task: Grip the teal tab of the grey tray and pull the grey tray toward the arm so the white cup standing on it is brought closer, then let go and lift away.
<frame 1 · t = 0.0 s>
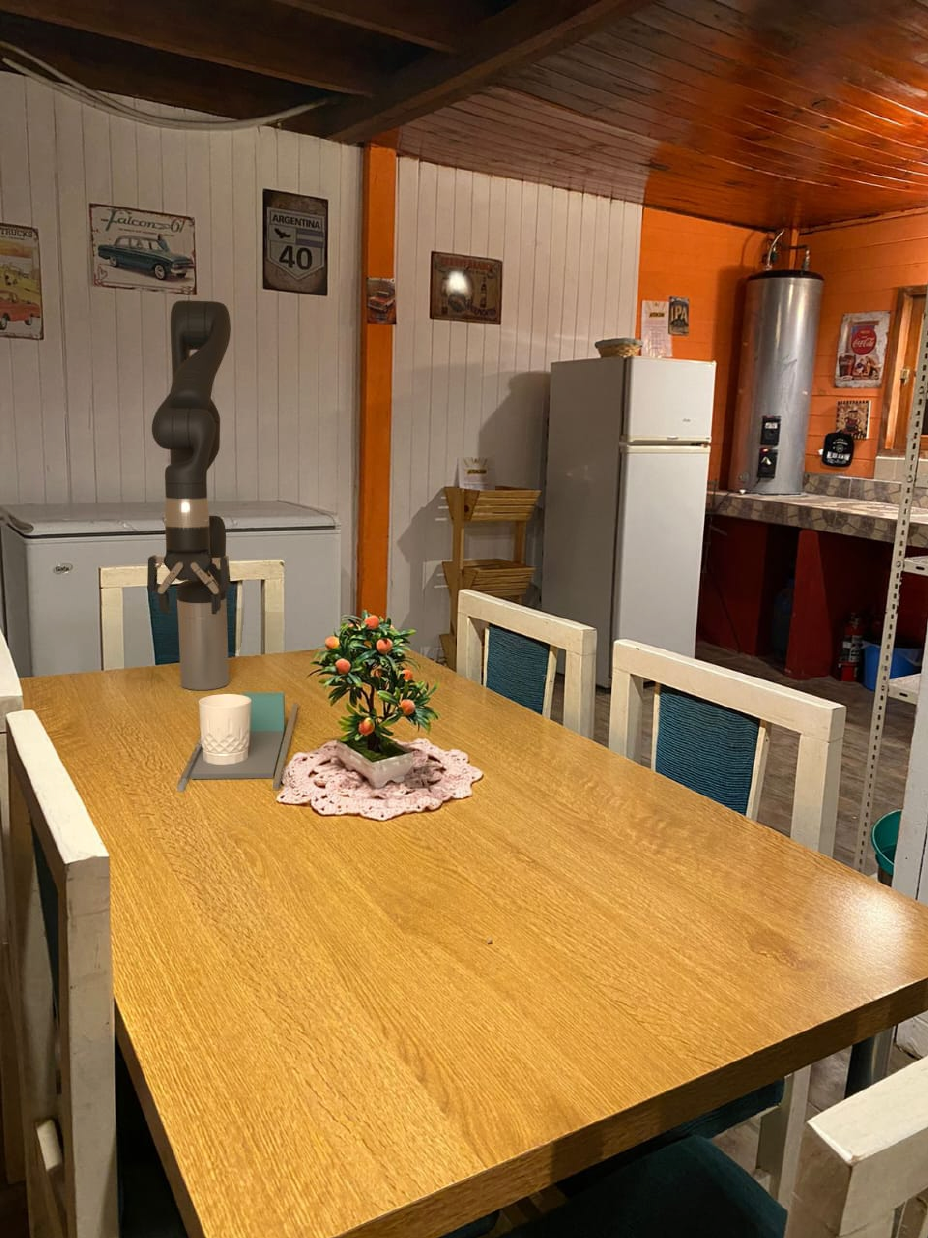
hand: (190, 613, 176), 17 cm above the table, tool pointing down, fingers open, 8 cm apart
white cup: (225, 763, 152), resting on grey tray
rails: (244, 745, 160), on the table
grey tray: (241, 732, 156), point 3 cm above the table, slide at 1.6 cm, touching white cup
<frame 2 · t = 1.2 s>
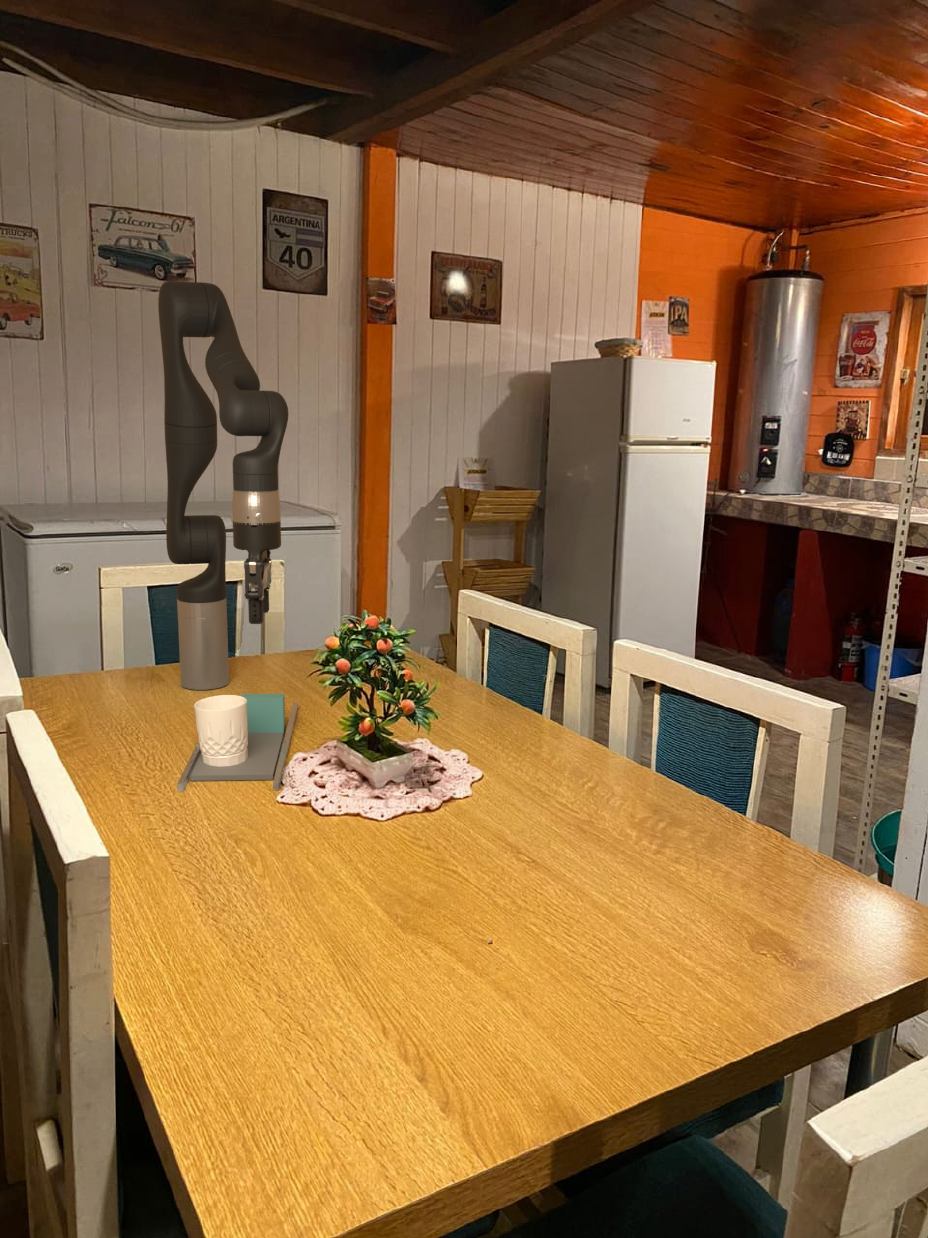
hand: (259, 617, 159), 21 cm above the table, tool pointing down, fingers open, 8 cm apart
grey tray: (240, 733, 155), point 3 cm above the table, slide at 0.9 cm, touching white cup
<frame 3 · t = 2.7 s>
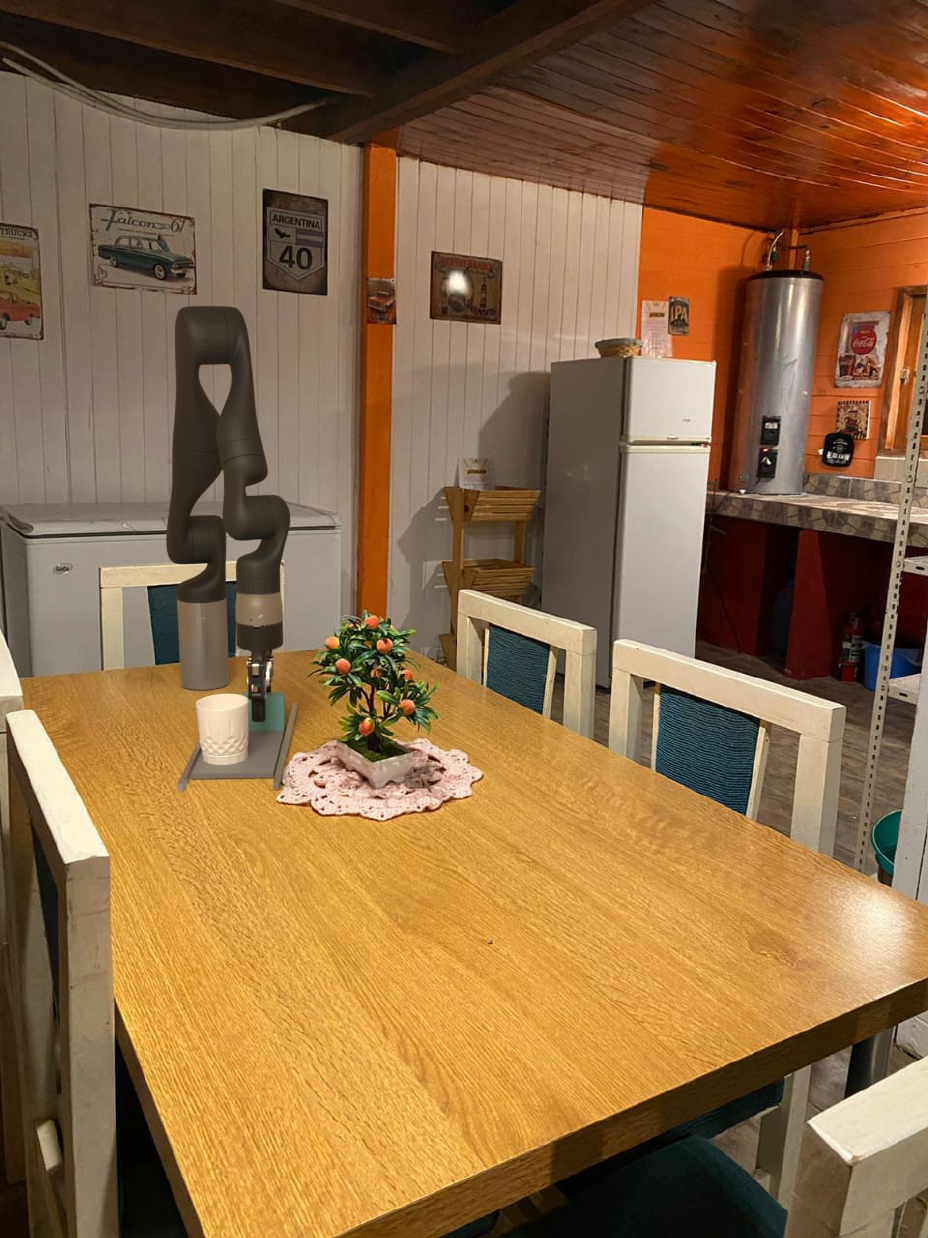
hand: (261, 713, 163), 4 cm above the table, tool pointing down, fingers open, 8 cm apart
grey tray: (241, 732, 156), point 3 cm above the table, slide at 1.6 cm, touching white cup
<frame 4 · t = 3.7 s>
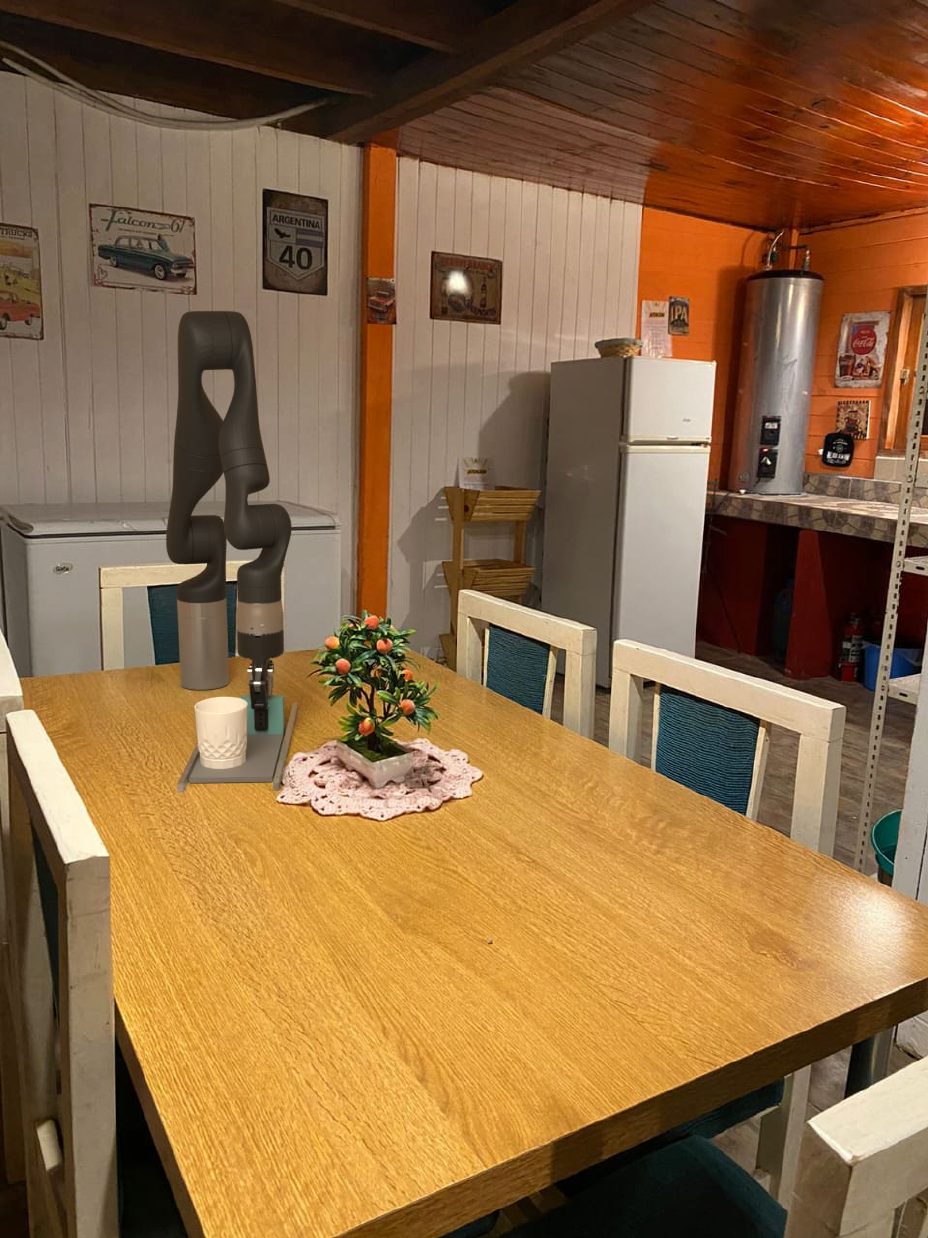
hand: (262, 726, 164), 2 cm above the table, tool pointing down, fingers closed
white cup: (223, 767, 151), resting on grey tray
grey tray: (240, 735, 154), point 3 cm above the table, slide at 0.0 cm, touching white cup, gripper
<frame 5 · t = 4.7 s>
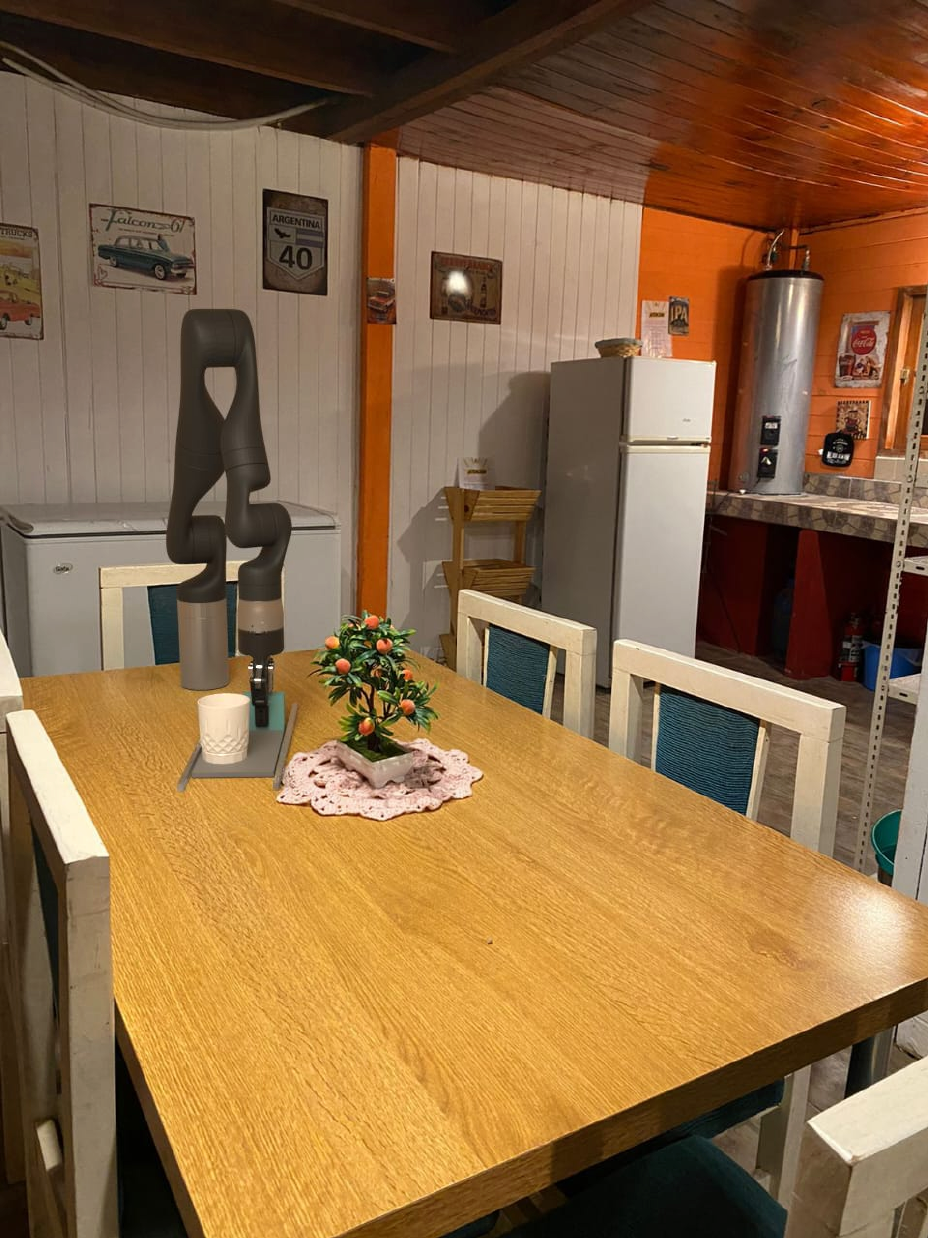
hand: (263, 723, 166), 2 cm above the table, tool pointing down, fingers closed on grey tray, 2 cm apart
white cup: (225, 763, 153), resting on grey tray
grey tray: (241, 731, 156), point 3 cm above the table, slide at 2.1 cm, touching white cup, gripper
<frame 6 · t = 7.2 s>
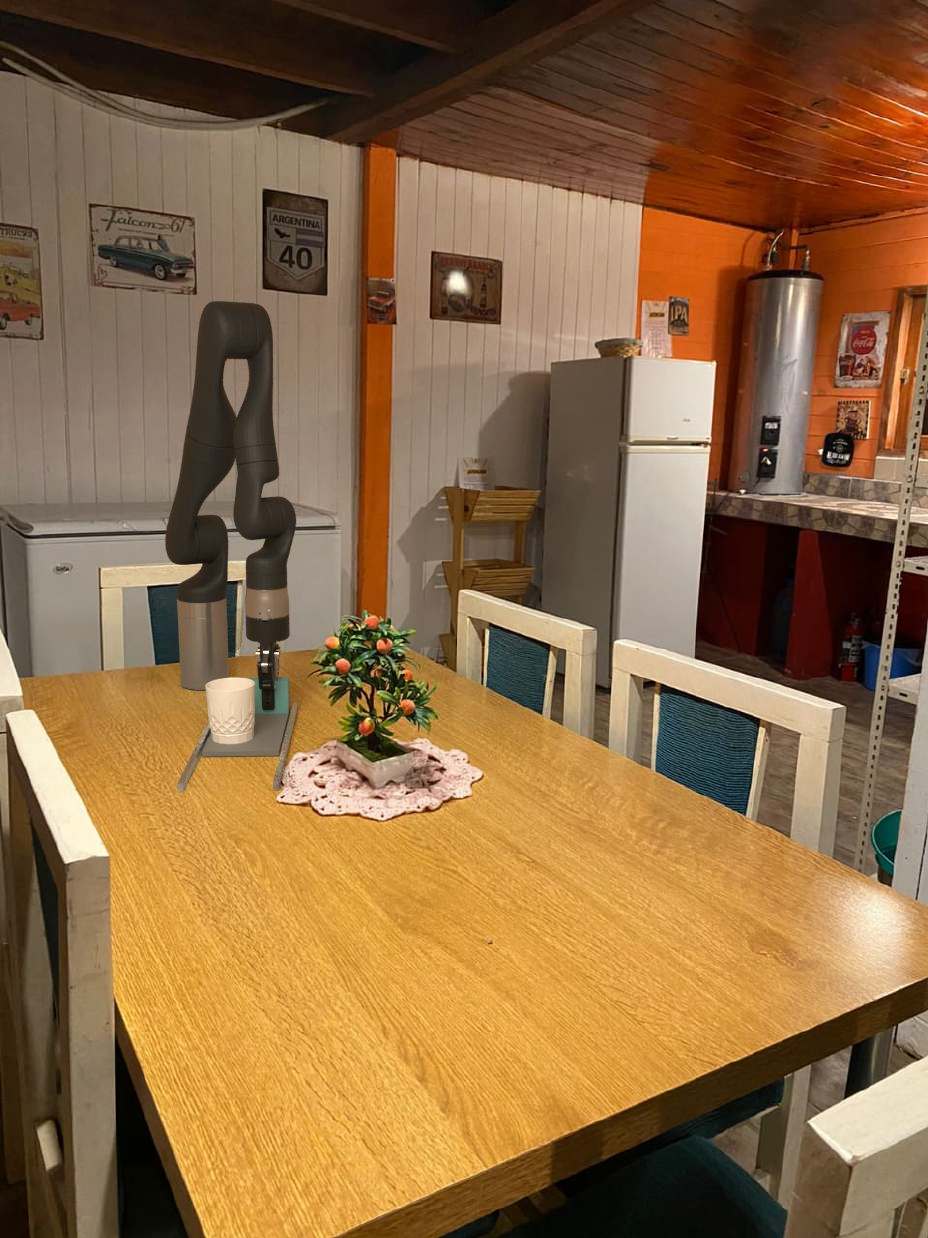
hand: (269, 706, 174), 2 cm above the table, tool pointing down, fingers closed
white cup: (233, 743, 161), resting on grey tray
grey tray: (248, 713, 165), point 3 cm above the table, slide at 10.8 cm, touching white cup, gripper
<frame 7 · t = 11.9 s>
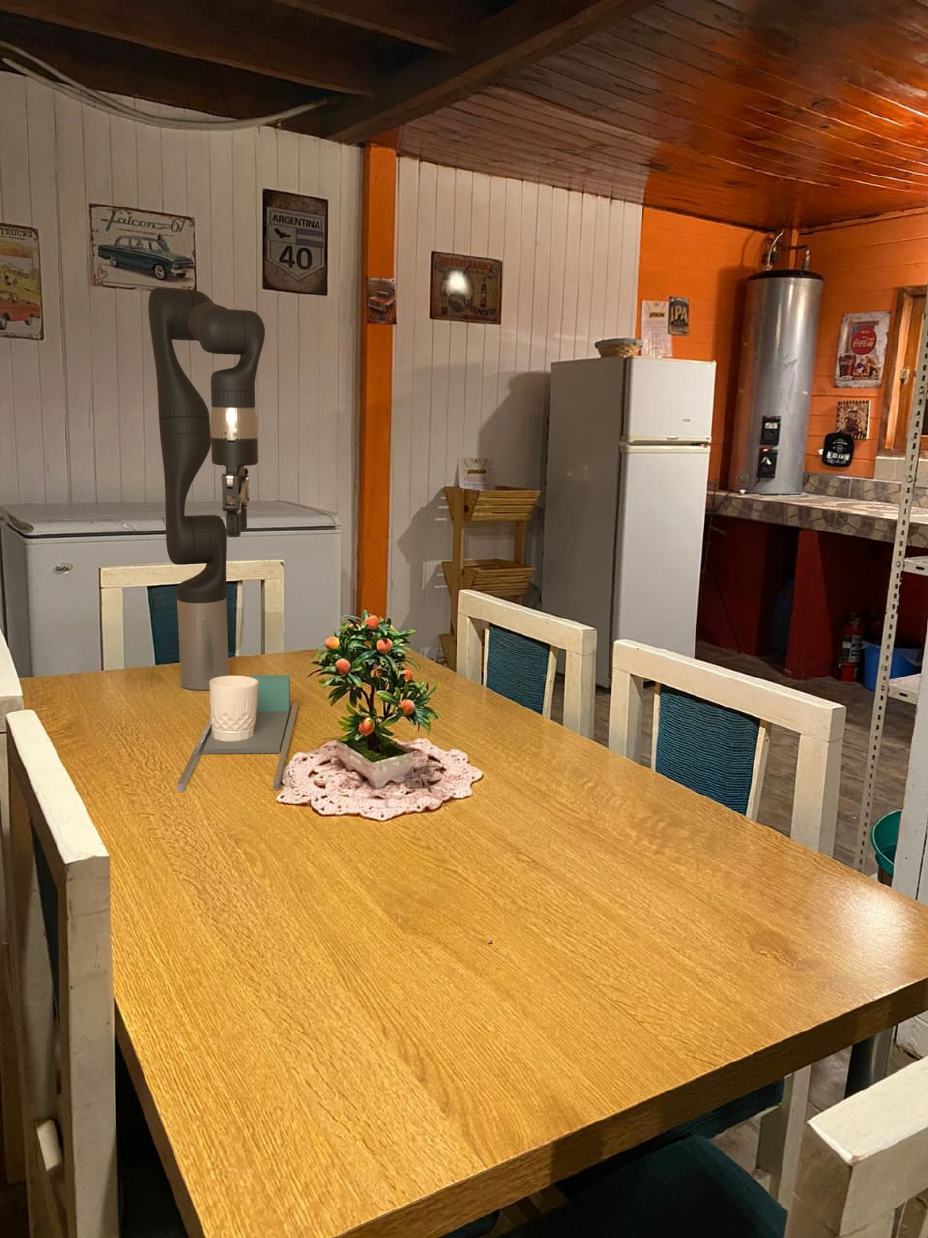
hand: (237, 533, 165), 33 cm above the table, tool pointing down, fingers open, 8 cm apart
white cup: (233, 740, 163), resting on grey tray
grey tray: (249, 711, 166), point 3 cm above the table, slide at 12.1 cm, touching white cup
at the end: grey tray slide at 12.9 cm; white cup inside the target area (1.9 cm from its centre), resting on grey tray; white cup tilted 3° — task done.
